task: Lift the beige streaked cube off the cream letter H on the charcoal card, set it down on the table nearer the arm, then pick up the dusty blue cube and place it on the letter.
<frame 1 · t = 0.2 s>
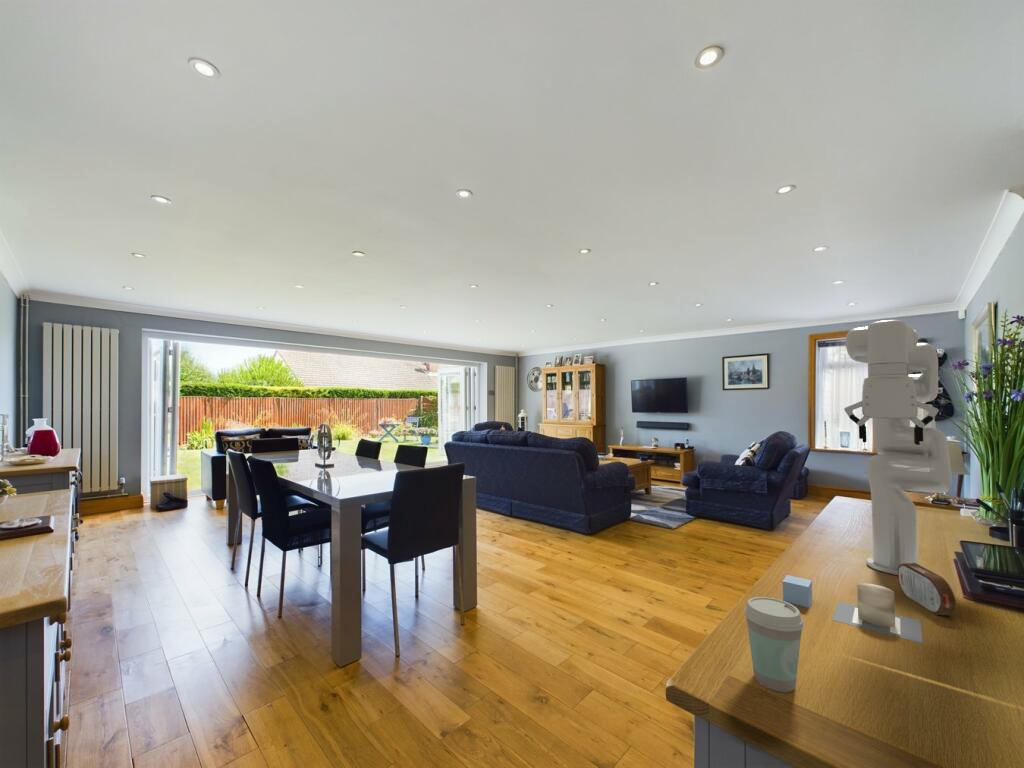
hand: (890, 443, 107), 36 cm above the worktop, tool pointing down, fingers open, 9 cm apart
blue cube: (797, 603, 102), on the worktop
tin: (924, 607, 101), on the worktop
coffee cup: (774, 682, 73), on the worktop
letter card: (876, 622, 93), on the worktop
beige streaked cube: (876, 620, 93), resting on letter card
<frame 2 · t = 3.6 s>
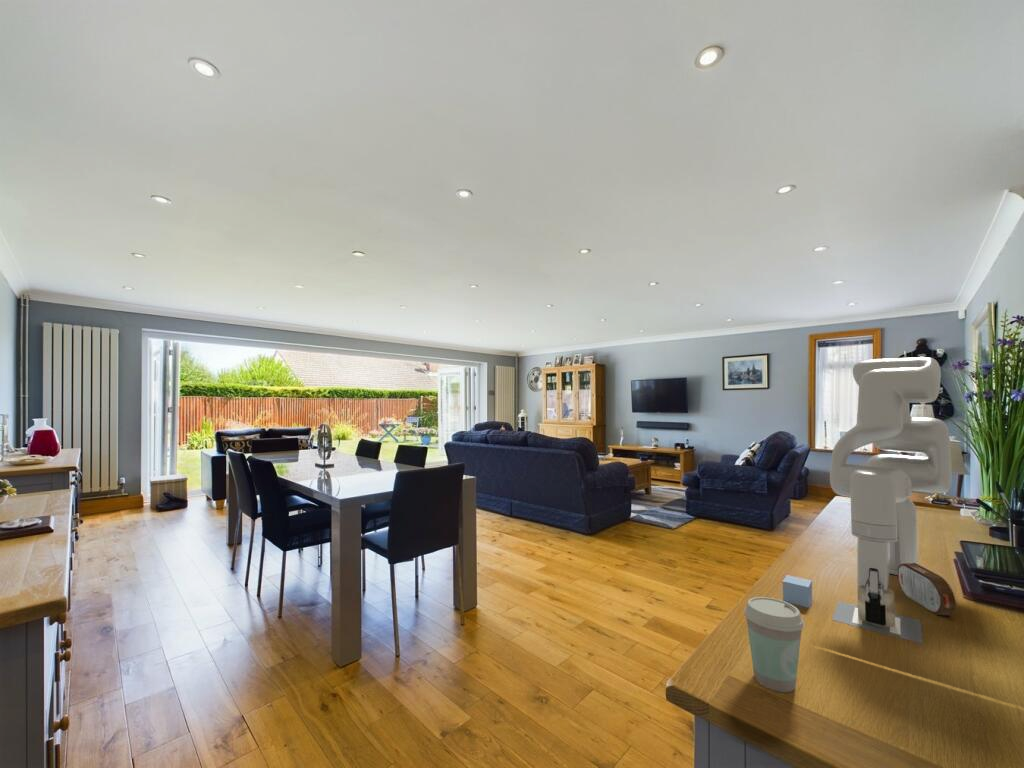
hand: (876, 616, 93), 1 cm above the worktop, tool pointing down, fingers closed on beige streaked cube, 6 cm apart
beige streaked cube: (876, 620, 93), resting on letter card, touching gripper
everything else where it was.
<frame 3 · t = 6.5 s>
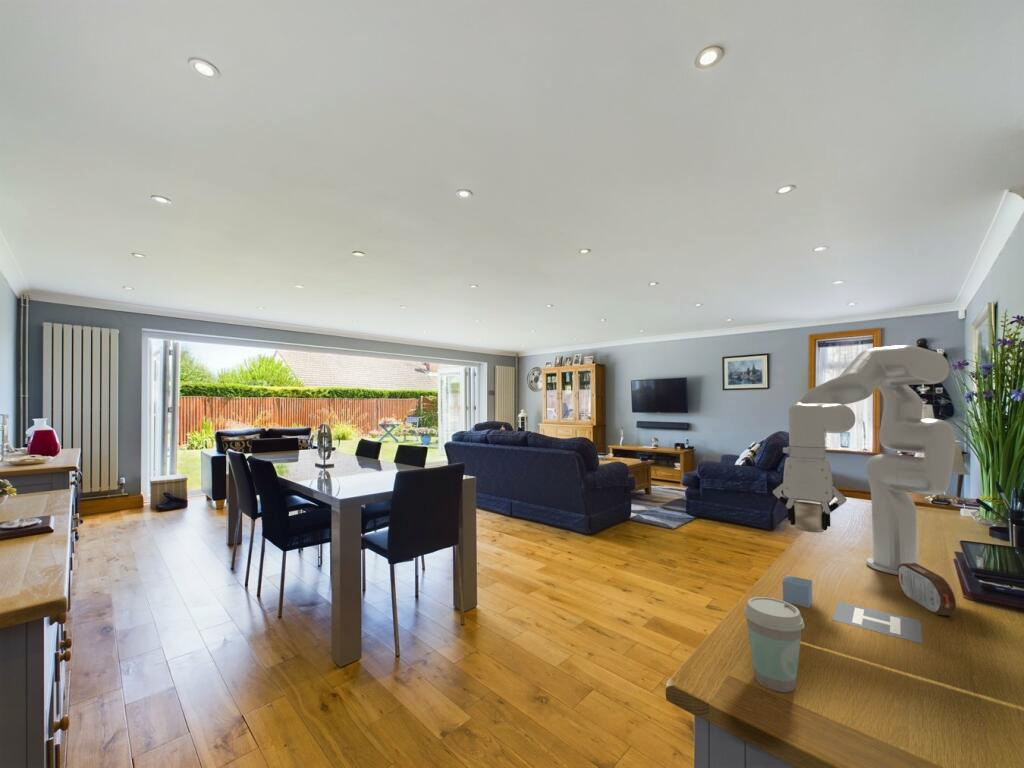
hand: (808, 525, 111), 15 cm above the worktop, tool pointing down, fingers closed on beige streaked cube, 6 cm apart
beige streaked cube: (808, 529, 111), point 15 cm above the worktop, touching gripper
everything else where it was.
when the fingers open (2 cm above the worktop, at t = 9.4 s): beige streaked cube drops 1 cm, on the worktop.
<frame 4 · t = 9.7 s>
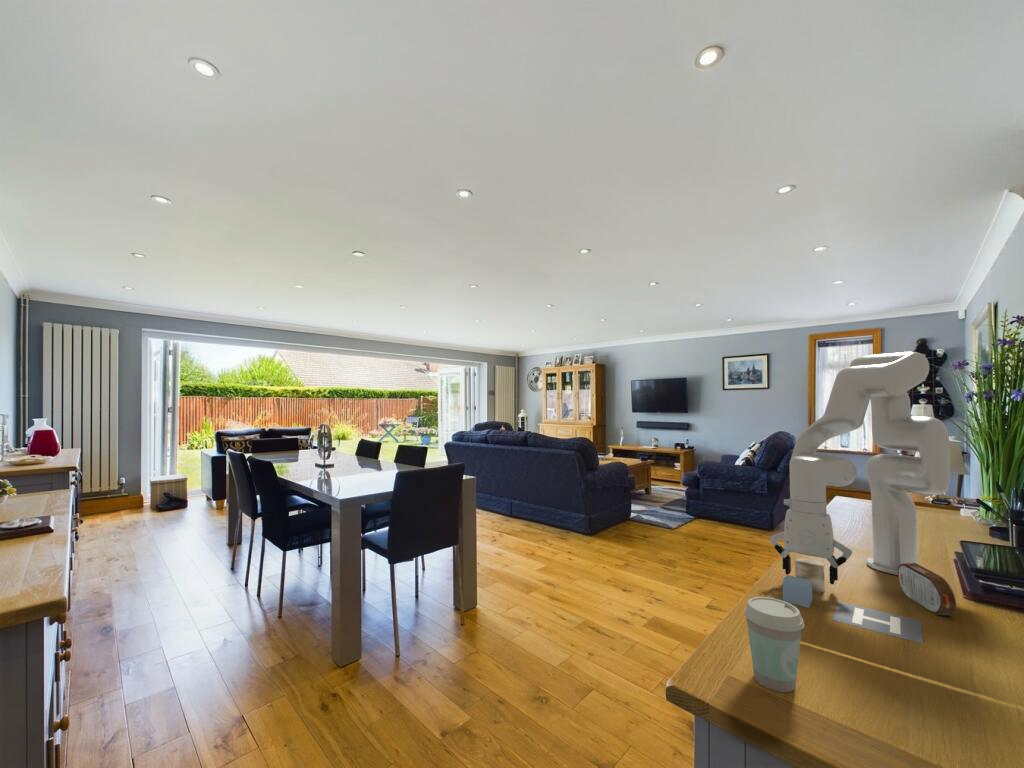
hand: (809, 577, 110), 3 cm above the worktop, tool pointing down, fingers open, 8 cm apart
beige streaked cube: (810, 589, 110), on the worktop
everything else where it was.
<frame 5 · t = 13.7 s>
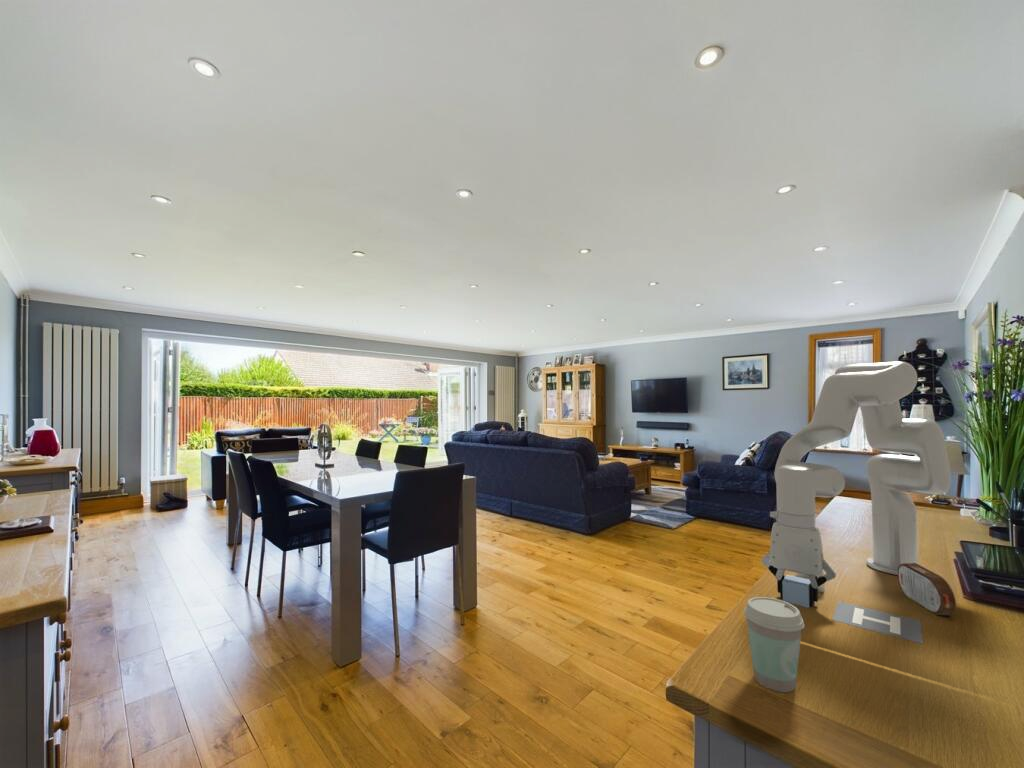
hand: (797, 599, 102), 1 cm above the worktop, tool pointing down, fingers closed on blue cube, 5 cm apart
blue cube: (797, 602, 102), on the worktop, touching gripper
everything else where it was.
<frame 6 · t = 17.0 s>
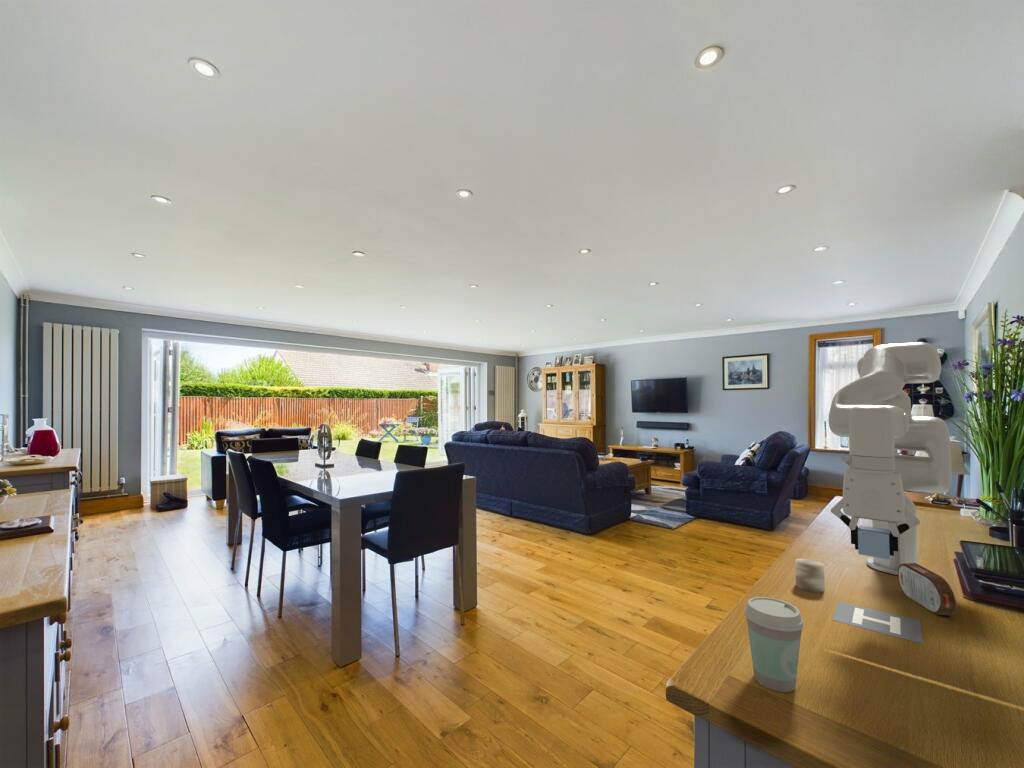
hand: (874, 550, 94), 15 cm above the worktop, tool pointing down, fingers closed on blue cube, 5 cm apart
blue cube: (874, 553, 94), point 14 cm above the worktop, touching gripper
everything else where it was.
when the fingers open (2 cm above the worktop, at t = 20.3 s): blue cube stays where it is, resting on letter card.
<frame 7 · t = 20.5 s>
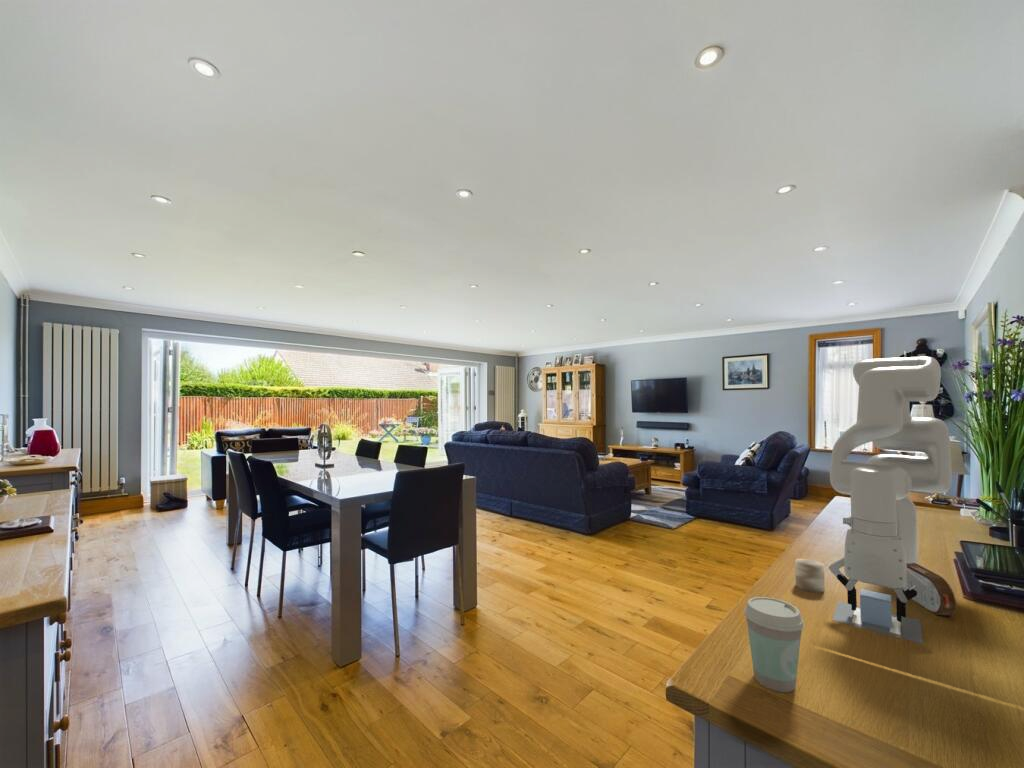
hand: (876, 612, 93), 2 cm above the worktop, tool pointing down, fingers open, 6 cm apart
blue cube: (876, 620, 93), resting on letter card
everything else where it was.
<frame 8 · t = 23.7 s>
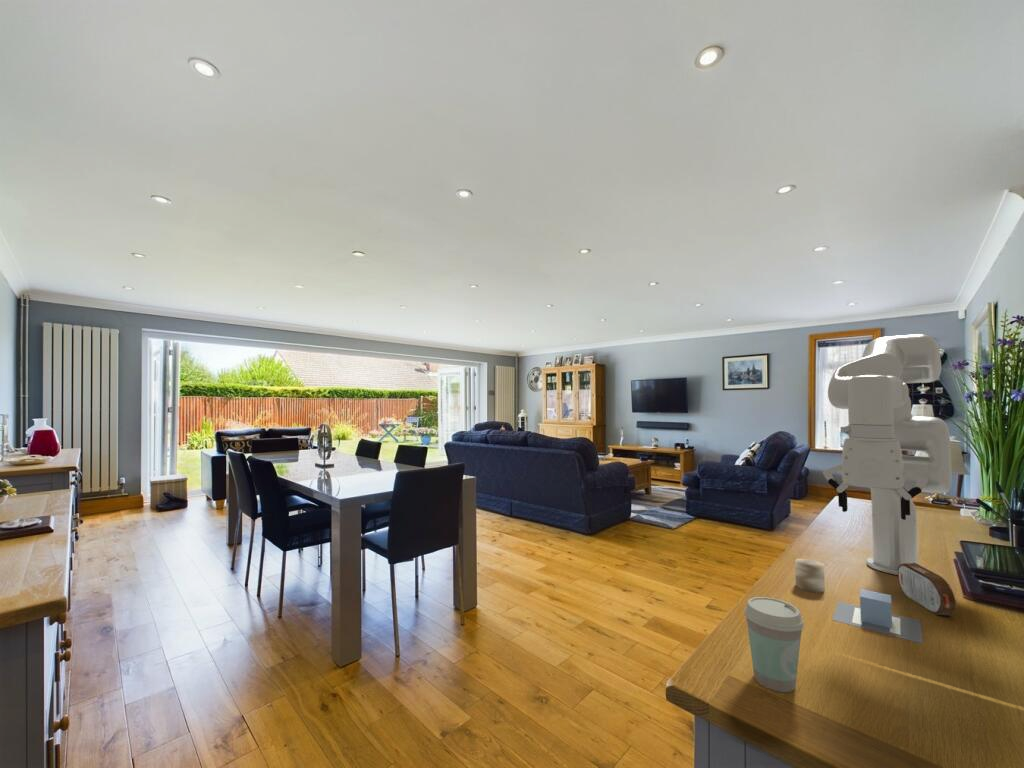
hand: (873, 514, 94), 22 cm above the worktop, tool pointing down, fingers open, 9 cm apart
nothing on the worktop moved.
at the end: blue cube 0.0 cm off-centre on the letter card, point 0.4 cm above the letter card's base; blue cube tilted 0°; beige streaked cube touching worktop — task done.
